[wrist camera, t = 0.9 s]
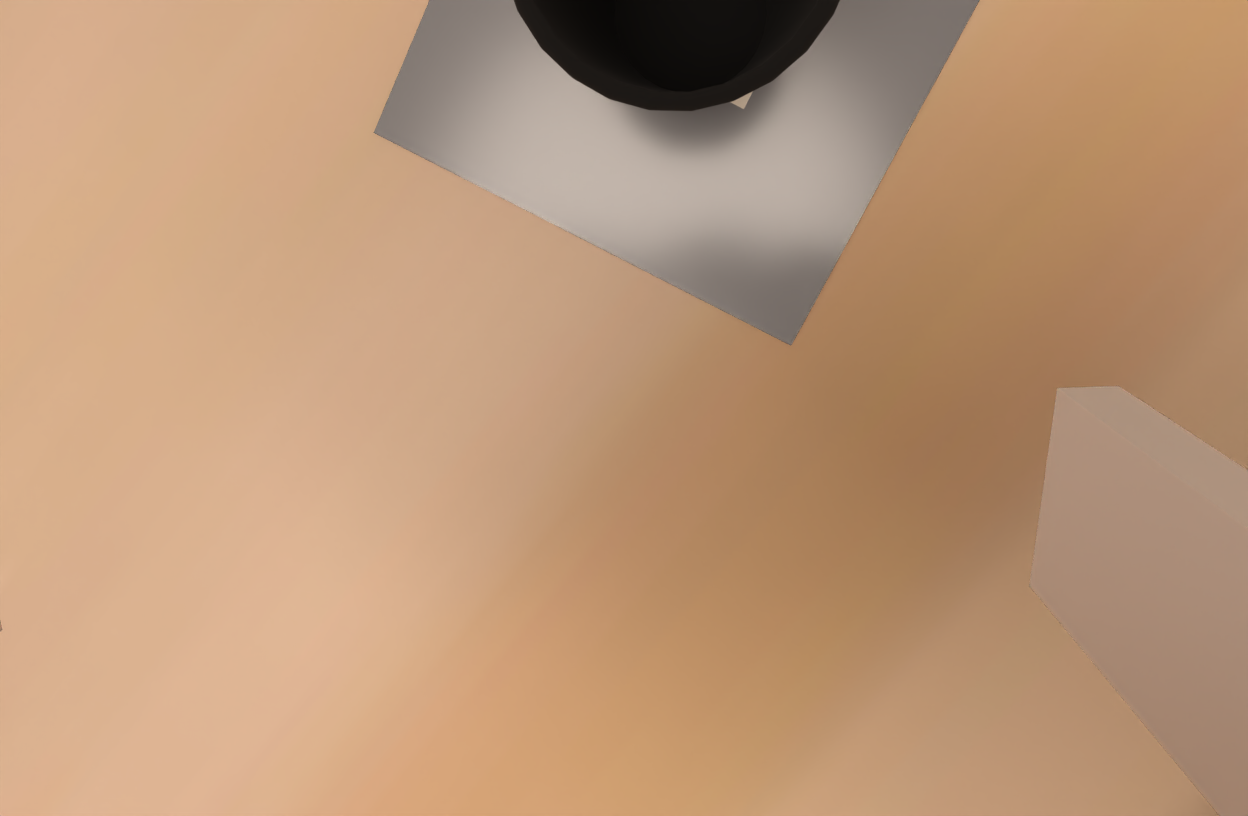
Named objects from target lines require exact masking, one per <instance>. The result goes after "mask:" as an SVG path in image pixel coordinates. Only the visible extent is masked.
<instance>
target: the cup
mask: <svg viewBox="0 0 1248 816" xmlns="http://www.w3.org/2000/svg"><path fill="white" fill-rule="evenodd" d="M839 1H840V0H514V3H515V5H516V8H517V11H518V13H519V14H520V16H521V17H522V19H523V21H524V22H525V24H526V25H527V27H528V28H529V30H530V32H531V33H532V35H533V36H534V38H535V39H536V41H537V42H538V44H539V46H540V47H541V49H542V50H543V51H545V52H546V53H547V54H548V55H549V56H550V57H551V58H552V59H553V60H554V61H555V62H556V63H557V64H558V65H559V66H560V67H561V68H562V69H563V70H564V71H565V72H566V73H567V74H568V75H570V76H571V77H572V78H573V79H575V80H576V81H578V82H580V83H582V84H583V85H585V86H587V87H589V88H590V89H592V90H594V91H596V92H597V93H599V94H601V95H603V96H604V97H606V98H608V99H610V100H614V101H618V102H621V103H625V104H628V105H632V106H636V107H639V108H643V109H647V110H660V111H694V110H698V109H703V108H707V107H711V106H715V105H720V104H724V103H728V102H732V101H735V100H737V99H739V98H741V97H743V96H745V95H747V94H749V93H750V92H752V91H754V90H756V89H758V88H760V87H762V86H764V85H766V84H768V83H770V82H772V81H773V80H774V79H776V78H777V77H778V76H779V75H780V74H781V73H783V72H784V71H785V70H786V69H787V68H788V67H789V66H791V65H792V64H793V63H794V62H795V61H796V60H798V59H799V58H800V57H801V56H802V55H803V54H805V53H806V52H807V51H808V49H809V48H810V46H811V45H812V44H813V42H814V41H815V40H816V38H817V37H818V35H819V34H820V33H821V31H822V30H823V29H824V27H825V26H826V24H827V23H828V22H829V20H830V19H831V18H832V16H833V15H834V13H835V10H836V8H837V6H838V3H839Z"/></svg>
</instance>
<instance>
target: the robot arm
mask: <svg viewBox="0 0 1248 816" xmlns="http://www.w3.org/2000/svg"><path fill="white" fill-rule="evenodd" d="M1029 586H1030V588H1031V589H1032V590H1033V591H1034V592H1035V594H1036V595H1037V596H1038V597H1039V598H1040V600H1041V601H1042V602H1043V603H1044V604H1045V606H1046V607H1047V608H1048V609H1049V610H1050V612H1051V613H1052V614H1053V615H1054V617H1055V618H1056V619H1057V620H1058V621H1059V623H1060V624H1061V625H1062V626H1063V627H1064V629H1065V630H1066V631H1067V632H1068V633H1069V635H1070V636H1071V637H1072V638H1073V639H1074V641H1075V642H1076V643H1077V644H1078V646H1079V647H1080V648H1081V649H1082V650H1083V652H1084V653H1085V654H1086V655H1087V656H1088V658H1089V659H1090V660H1091V661H1092V662H1093V664H1094V665H1095V666H1096V667H1097V668H1098V670H1099V671H1100V672H1101V673H1102V674H1103V676H1104V677H1105V678H1106V679H1107V681H1108V682H1109V683H1110V684H1111V685H1112V687H1113V688H1114V689H1115V690H1116V691H1117V693H1118V694H1119V695H1120V696H1121V697H1122V699H1123V700H1124V701H1125V702H1126V703H1127V705H1128V706H1129V707H1130V708H1131V710H1132V711H1133V712H1134V713H1135V714H1136V716H1137V717H1138V718H1139V719H1140V720H1141V722H1142V723H1143V724H1144V725H1145V726H1146V728H1147V729H1148V730H1149V731H1150V732H1151V734H1152V735H1153V736H1154V737H1155V738H1156V740H1157V741H1158V742H1159V743H1160V745H1161V746H1162V747H1163V748H1164V749H1165V751H1166V752H1167V753H1168V754H1169V755H1170V757H1171V758H1172V759H1173V760H1174V761H1175V763H1176V764H1177V765H1178V766H1179V767H1180V769H1181V770H1182V771H1183V772H1184V774H1185V775H1186V776H1187V777H1188V778H1189V780H1190V781H1191V782H1192V783H1193V784H1194V786H1195V787H1196V788H1197V789H1198V790H1199V792H1200V793H1201V794H1202V795H1203V796H1204V798H1205V799H1206V800H1207V801H1208V802H1209V804H1210V805H1211V806H1212V807H1213V809H1214V810H1215V811H1216V812H1217V813H1218V815H1219V816H1248V470H1247V469H1245V468H1244V467H1242V466H1241V465H1239V464H1238V463H1236V462H1234V461H1233V460H1231V459H1230V458H1228V457H1227V456H1225V455H1224V454H1222V453H1221V452H1219V451H1218V450H1216V449H1215V448H1213V447H1211V446H1210V445H1208V444H1207V443H1205V442H1204V441H1202V440H1201V439H1199V438H1198V437H1196V436H1195V435H1193V434H1192V433H1190V432H1189V431H1187V430H1185V429H1184V428H1182V427H1181V426H1179V425H1178V424H1176V423H1175V422H1173V421H1172V420H1170V419H1169V418H1167V417H1166V416H1164V415H1162V414H1161V413H1159V412H1158V411H1156V410H1155V409H1153V408H1152V407H1150V406H1149V405H1147V404H1146V403H1144V402H1143V401H1141V400H1139V399H1138V398H1136V397H1135V396H1133V395H1132V394H1130V393H1129V392H1127V391H1126V390H1124V389H1123V388H1121V387H1120V386H1100V387H1069V388H1057V393H1056V400H1055V407H1054V414H1053V421H1052V429H1051V436H1050V443H1049V450H1048V457H1047V464H1046V471H1045V478H1044V485H1043V492H1042V499H1041V506H1040V514H1039V521H1038V528H1037V535H1036V542H1035V549H1034V556H1033V563H1032V570H1031V577H1030V584H1029ZM1 631H2V626H1V622H0V632H1Z"/></svg>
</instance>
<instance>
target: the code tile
mask: <svg viewBox="0 0 1248 816" xmlns="http://www.w3.org/2000/svg"><path fill="white" fill-rule="evenodd" d="M978 2H979V0H840V1H839V3H838V6H837V8H836V10H835V13H834V15H833V16H832V18H831V19H830V20H829V22H828V23H827V24H826V26H825V27H824V29H823V30H822V31H821V33H820V34H819V35H818V37H817V38H816V40H815V41H814V42H813V44H812V45H811V46H810V48H809V49H808V51H807V52H806V53H805V54H803V55H802V56H801V57H800V58H799V59H798V60H796V61H795V62H794V63H793V64H792V65H791V66H789V67H788V68H787V69H786V70H785V71H784V72H783V73H781V74H780V75H779V76H778V77H777V78H776V79H774V80H773V81H772V82H770V83H768V84H766V85H764V86H762V87H760V88H758V89H756V90H754V91H752V92H750V93H749V94H747V95H745V96H743V97H741V98H739V99H737V100H735V101H732V102H728V103H724V104H720V105H715V106H711V107H707V108H703V109H698V110H694V111H660V110H647V109H643V108H639V107H636V106H632V105H628V104H625V103H621V102H618V101H614V100H610V99H608V98H606V97H604V96H603V95H601V94H599V93H597V92H596V91H594V90H592V89H590V88H589V87H587V86H585V85H583V84H582V83H580V82H578V81H576V80H575V79H573V78H572V77H571V76H570V75H568V74H567V73H566V72H565V71H564V70H563V69H562V68H561V67H560V66H559V65H558V64H557V63H556V62H555V61H554V60H553V59H552V58H551V57H550V56H549V55H548V54H547V53H546V52H545V51H543V50H542V49H541V47H540V46H539V44H538V42H537V41H536V39H535V38H534V36H533V35H532V33H531V32H530V30H529V28H528V27H527V25H526V24H525V22H524V21H523V19H522V17H521V16H520V14H519V13H518V11H517V8H516V5H515V3H514V0H429V3H428V5H427V8H426V10H425V12H424V15H423V17H422V19H421V22H420V24H419V27H418V29H417V31H416V34H415V36H414V38H413V41H412V43H411V46H410V48H409V50H408V53H407V55H406V57H405V60H404V62H403V65H402V67H401V69H400V72H399V74H398V76H397V79H396V81H395V84H394V86H393V88H392V91H391V93H390V96H389V98H388V100H387V103H386V105H385V107H384V110H383V112H382V115H381V117H380V119H379V122H378V124H377V126H376V129H375V131H374V133H375V134H377V135H379V136H381V137H383V138H385V139H387V140H389V141H391V142H393V143H395V144H397V145H399V146H401V147H403V148H405V149H407V150H409V151H410V152H412V153H414V154H416V155H418V156H420V157H422V158H424V159H426V160H428V161H430V162H432V163H434V164H436V165H438V166H440V167H442V168H444V169H446V170H448V171H450V172H452V173H454V174H456V175H458V176H459V177H461V178H463V179H465V180H467V181H469V182H471V183H473V184H475V185H477V186H479V187H481V188H483V189H485V190H487V191H489V192H491V193H493V194H495V195H497V196H499V197H501V198H503V199H505V200H507V201H508V202H510V203H512V204H514V205H516V206H518V207H520V208H522V209H524V210H526V211H528V212H530V213H532V214H534V215H536V216H538V217H540V218H542V219H544V220H546V221H548V222H550V223H552V224H554V225H556V226H558V227H559V228H561V229H563V230H565V231H567V232H569V233H571V234H573V235H575V236H577V237H579V238H581V239H583V240H585V241H587V242H589V243H591V244H593V245H595V246H597V247H599V248H601V249H603V250H605V251H607V252H608V253H610V254H612V255H614V256H616V257H618V258H620V259H622V260H624V261H626V262H628V263H630V264H632V265H634V266H636V267H638V268H640V269H642V270H644V271H646V272H648V273H650V274H652V275H654V276H656V277H657V278H659V279H661V280H663V281H665V282H667V283H669V284H671V285H673V286H675V287H677V288H679V289H681V290H683V291H685V292H687V293H689V294H691V295H693V296H695V297H697V298H699V299H701V300H703V301H705V302H707V303H708V304H710V305H712V306H714V307H716V308H718V309H720V310H722V311H724V312H726V313H728V314H730V315H732V316H734V317H736V318H738V319H740V320H742V321H744V322H746V323H748V324H750V325H752V326H754V327H756V328H757V329H759V330H761V331H763V332H765V333H767V334H769V335H771V336H773V337H775V338H777V339H779V340H781V341H783V342H785V343H787V344H789V345H792V343H793V341H794V339H795V338H796V336H797V334H798V332H799V330H800V328H801V327H802V325H803V323H804V321H805V319H806V317H807V316H808V314H809V312H810V310H811V308H812V306H813V305H814V303H815V301H816V299H817V297H818V295H819V294H820V292H821V290H822V288H823V286H824V284H825V283H826V281H827V279H828V277H829V275H830V273H831V272H832V270H833V268H834V266H835V264H836V262H837V261H838V259H839V257H840V255H841V253H842V251H843V250H844V248H845V246H846V244H847V242H848V240H849V239H850V237H851V235H852V233H853V231H854V229H855V228H856V226H857V224H858V222H859V220H860V218H861V217H862V215H863V213H864V211H865V209H866V207H867V206H868V204H869V202H870V200H871V198H872V196H873V195H874V193H875V191H876V189H877V187H878V185H879V184H880V182H881V180H882V178H883V176H884V174H885V173H886V171H887V169H888V167H889V165H890V163H891V162H892V160H893V158H894V156H895V154H896V152H897V151H898V149H899V147H900V145H901V143H902V141H903V140H904V138H905V136H906V134H907V132H908V130H909V129H910V127H911V125H912V123H913V121H914V119H915V118H916V116H917V114H918V112H919V110H920V108H921V107H922V105H923V103H924V101H925V99H926V97H927V96H928V94H929V92H930V90H931V88H932V86H933V85H934V83H935V81H936V79H937V77H938V75H939V74H940V72H941V70H942V68H943V66H944V64H945V63H946V61H947V59H948V57H949V55H950V53H951V52H952V50H953V48H954V46H955V44H956V42H957V41H958V39H959V37H960V35H961V33H962V31H963V29H964V28H965V26H966V24H967V22H968V20H969V18H970V17H971V15H972V13H973V11H974V9H975V7H976V6H977V4H978Z"/></svg>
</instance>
